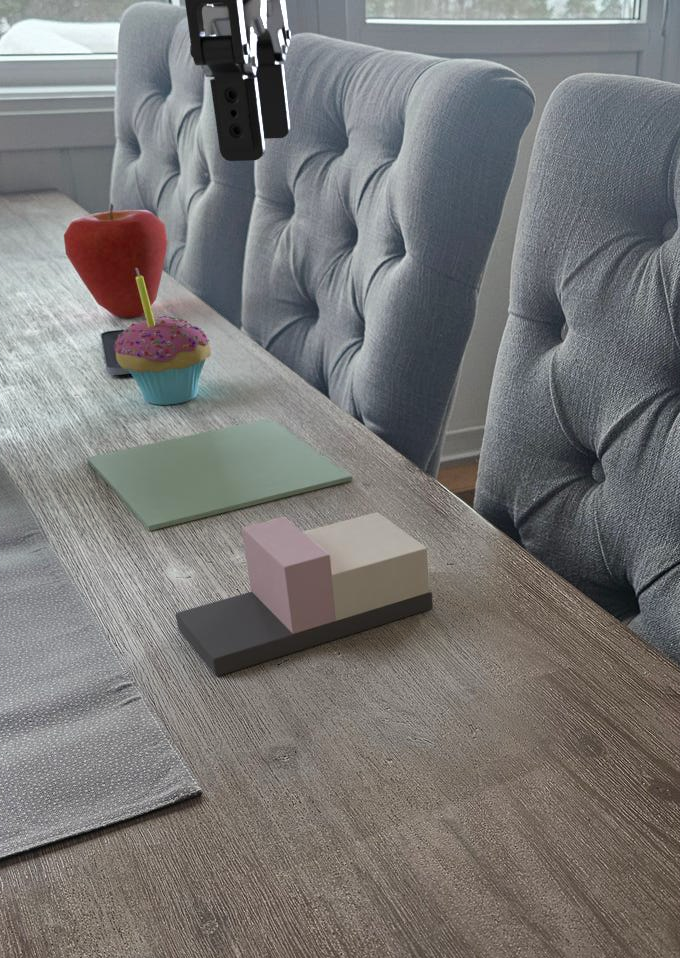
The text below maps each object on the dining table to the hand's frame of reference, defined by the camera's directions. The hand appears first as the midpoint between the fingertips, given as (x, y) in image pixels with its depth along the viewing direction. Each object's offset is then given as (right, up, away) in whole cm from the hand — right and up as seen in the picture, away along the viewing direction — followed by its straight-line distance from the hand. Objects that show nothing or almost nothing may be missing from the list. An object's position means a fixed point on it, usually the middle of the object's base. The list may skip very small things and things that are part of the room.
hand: (258, 148), depth 61 cm
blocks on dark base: (+2, -25, +7) cm, 26 cm away
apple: (-29, +13, +69) cm, 76 cm away
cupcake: (-17, -3, +43) cm, 46 cm away
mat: (-9, -13, +27) cm, 31 cm away
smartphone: (-23, +4, +55) cm, 60 cm away
